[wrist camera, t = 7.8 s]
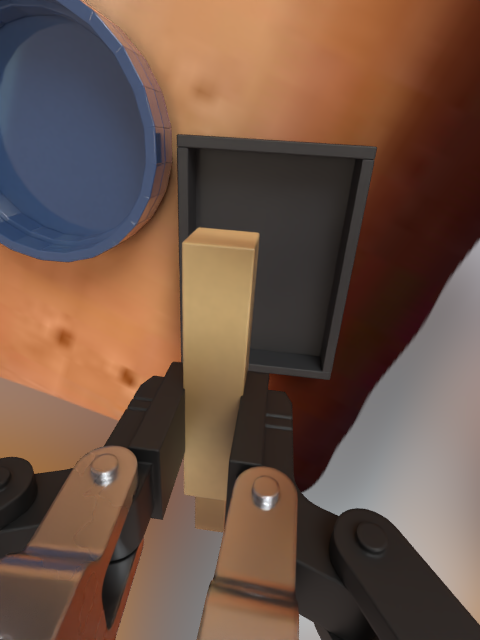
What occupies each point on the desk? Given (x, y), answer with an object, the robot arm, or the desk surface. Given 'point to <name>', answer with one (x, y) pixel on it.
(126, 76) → the bowl
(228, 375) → the wooden stick
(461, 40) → the desk surface
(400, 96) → the desk surface
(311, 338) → the pen tray
